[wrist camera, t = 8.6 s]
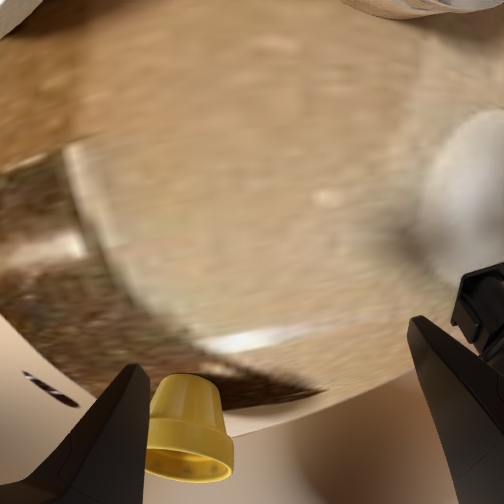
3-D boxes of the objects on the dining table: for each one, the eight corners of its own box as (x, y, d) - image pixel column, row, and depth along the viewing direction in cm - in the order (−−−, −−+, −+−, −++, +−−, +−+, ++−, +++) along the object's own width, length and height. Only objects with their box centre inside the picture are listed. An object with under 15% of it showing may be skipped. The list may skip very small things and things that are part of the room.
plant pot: (131, 358, 29) (108, 441, 21) (231, 361, 29) (228, 453, 21) (156, 409, 35) (144, 477, 27) (238, 412, 35) (237, 484, 27)
